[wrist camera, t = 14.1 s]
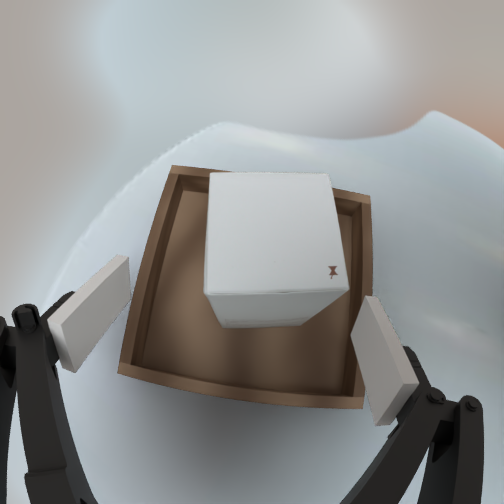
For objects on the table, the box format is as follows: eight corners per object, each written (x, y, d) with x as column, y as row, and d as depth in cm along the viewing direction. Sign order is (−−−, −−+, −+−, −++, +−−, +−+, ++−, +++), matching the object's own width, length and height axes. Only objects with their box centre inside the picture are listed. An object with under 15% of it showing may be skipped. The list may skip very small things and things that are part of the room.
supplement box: (296, 250, 29) (334, 170, 17) (302, 327, 26) (353, 293, 14) (219, 250, 28) (208, 168, 17) (218, 329, 26) (202, 296, 14)
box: (356, 214, 32) (370, 195, 28) (346, 403, 24) (362, 408, 21) (178, 187, 32) (172, 165, 28) (133, 372, 24) (117, 373, 21)
